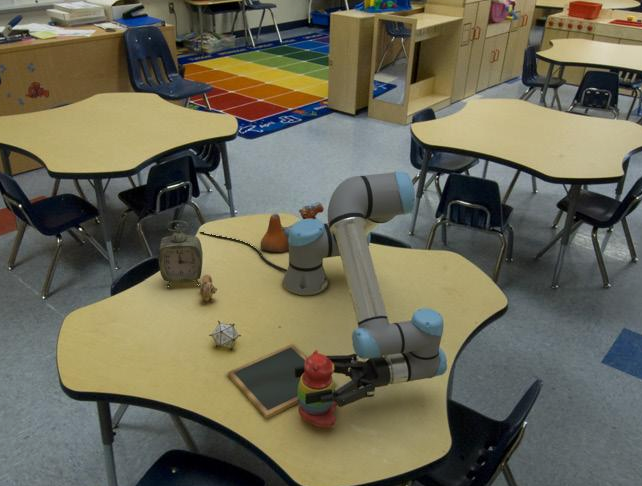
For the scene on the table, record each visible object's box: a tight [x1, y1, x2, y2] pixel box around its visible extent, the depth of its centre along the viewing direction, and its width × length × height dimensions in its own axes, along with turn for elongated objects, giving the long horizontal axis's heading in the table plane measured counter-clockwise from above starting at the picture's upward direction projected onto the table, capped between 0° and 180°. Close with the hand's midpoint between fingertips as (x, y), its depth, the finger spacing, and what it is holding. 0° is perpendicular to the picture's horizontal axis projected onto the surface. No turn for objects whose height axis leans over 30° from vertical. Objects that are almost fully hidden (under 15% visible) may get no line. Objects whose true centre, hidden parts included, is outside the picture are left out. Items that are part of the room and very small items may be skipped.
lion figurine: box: [199, 274, 218, 305], centre depth 197 cm, size 15×5×9 cm, turn 14°
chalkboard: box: [227, 343, 308, 420], centre depth 163 cm, size 20×22×2 cm
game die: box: [208, 320, 242, 351], centre depth 175 cm, size 9×8×10 cm
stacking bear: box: [297, 349, 338, 428], centre depth 145 cm, size 11×10×18 cm
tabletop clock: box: [157, 220, 204, 289], centre depth 201 cm, size 14×9×25 cm, turn 93°
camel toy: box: [260, 201, 325, 253], centre depth 224 cm, size 25×13×17 cm, turn 89°
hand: (300, 385), depth 144 cm, fingers closed on stacking bear, 9 cm apart
